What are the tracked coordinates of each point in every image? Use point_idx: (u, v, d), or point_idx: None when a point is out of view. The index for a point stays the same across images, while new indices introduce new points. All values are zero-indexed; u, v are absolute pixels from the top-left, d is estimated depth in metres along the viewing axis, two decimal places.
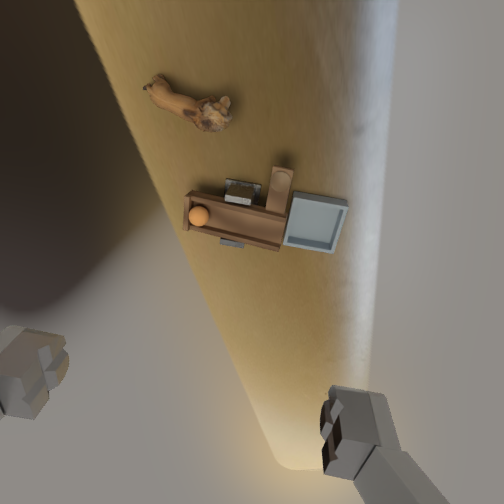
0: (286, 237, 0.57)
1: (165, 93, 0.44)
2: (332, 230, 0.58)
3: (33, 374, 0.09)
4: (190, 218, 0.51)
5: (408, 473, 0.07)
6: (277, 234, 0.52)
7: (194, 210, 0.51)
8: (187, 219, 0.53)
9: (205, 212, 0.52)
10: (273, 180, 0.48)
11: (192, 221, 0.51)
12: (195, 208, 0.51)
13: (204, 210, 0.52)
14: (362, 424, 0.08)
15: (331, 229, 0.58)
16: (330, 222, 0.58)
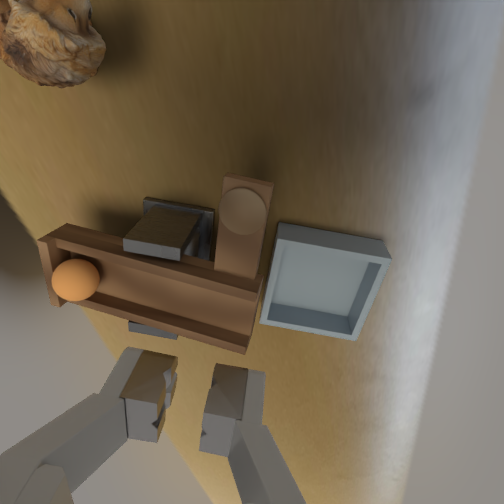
0: (265, 311, 0.29)
1: None
2: (354, 295, 0.31)
3: (162, 398, 0.09)
4: (53, 287, 0.24)
5: (259, 444, 0.07)
6: (242, 318, 0.25)
7: (60, 270, 0.23)
8: None
9: (86, 274, 0.24)
10: (225, 209, 0.20)
11: (57, 293, 0.24)
12: (63, 265, 0.24)
13: (84, 269, 0.24)
14: (229, 399, 0.08)
15: (352, 293, 0.30)
16: (350, 282, 0.30)
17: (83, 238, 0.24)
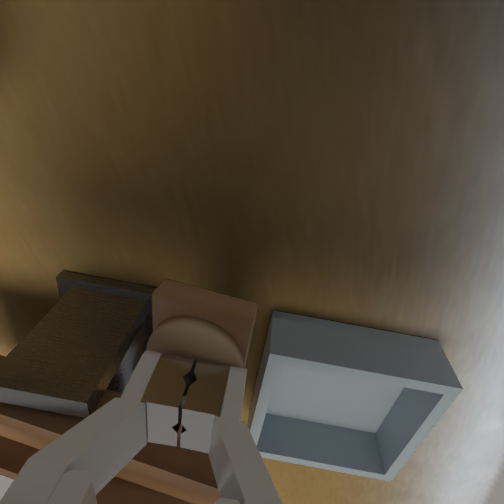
0: None
1: None
2: (387, 409, 0.20)
3: (182, 402, 0.09)
4: None
5: (237, 440, 0.07)
6: None
7: None
8: None
9: None
10: None
11: None
12: None
13: None
14: (209, 396, 0.08)
15: (384, 407, 0.20)
16: (383, 393, 0.20)
17: None
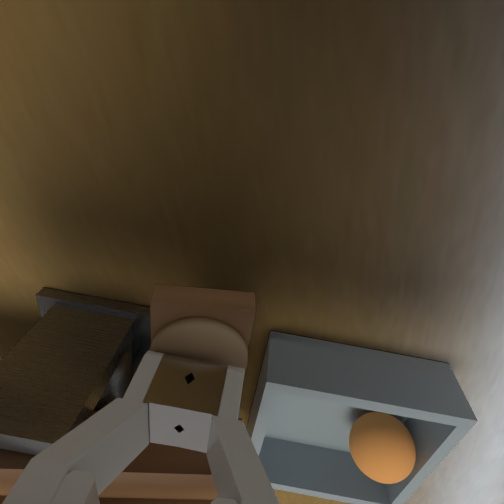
0: None
1: None
2: None
3: None
4: (397, 480, 0.16)
5: (234, 439, 0.07)
6: (213, 484, 0.15)
7: (403, 452, 0.15)
8: None
9: (403, 424, 0.17)
10: None
11: (400, 480, 0.16)
12: (396, 444, 0.16)
13: (400, 422, 0.17)
14: (207, 395, 0.08)
15: None
16: None
17: None
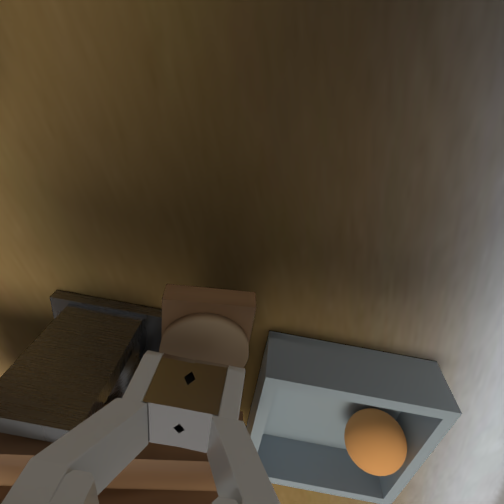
0: None
1: None
2: None
3: None
4: (389, 472, 0.17)
5: (235, 439, 0.07)
6: None
7: (395, 445, 0.16)
8: None
9: None
10: (173, 352, 0.11)
11: (393, 472, 0.17)
12: (388, 437, 0.17)
13: (392, 418, 0.18)
14: (207, 395, 0.08)
15: None
16: None
17: None
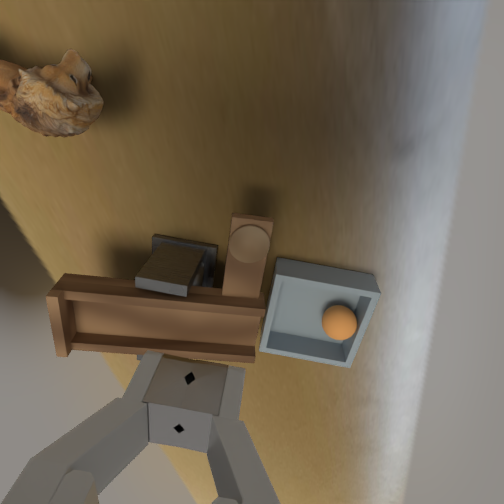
0: (264, 339, 0.31)
1: None
2: None
3: None
4: (346, 334, 0.29)
5: (234, 439, 0.07)
6: (248, 332, 0.29)
7: (349, 319, 0.29)
8: (62, 336, 0.25)
9: None
10: (235, 244, 0.24)
11: (349, 336, 0.30)
12: (345, 315, 0.29)
13: (348, 308, 0.31)
14: (207, 395, 0.08)
15: None
16: None
17: (90, 286, 0.25)
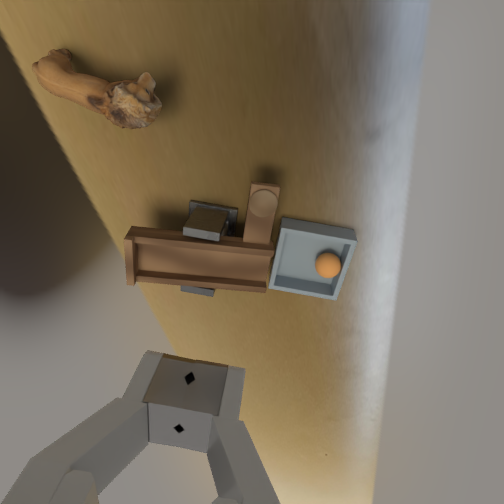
0: (272, 279, 0.42)
1: (56, 72, 0.29)
2: None
3: None
4: (332, 273, 0.40)
5: (234, 439, 0.07)
6: (261, 270, 0.39)
7: (334, 261, 0.40)
8: (132, 270, 0.36)
9: None
10: (253, 203, 0.34)
11: (334, 274, 0.41)
12: (332, 258, 0.40)
13: (335, 255, 0.41)
14: (207, 395, 0.08)
15: None
16: None
17: (151, 234, 0.36)
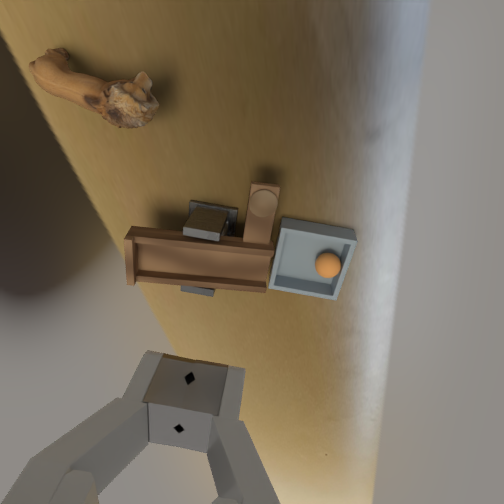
0: (272, 279, 0.42)
1: (52, 71, 0.29)
2: None
3: None
4: (332, 272, 0.40)
5: (234, 439, 0.07)
6: (261, 270, 0.39)
7: (334, 261, 0.40)
8: (132, 270, 0.36)
9: None
10: (253, 203, 0.34)
11: (334, 274, 0.41)
12: (332, 258, 0.40)
13: (335, 255, 0.41)
14: (207, 395, 0.08)
15: None
16: None
17: (151, 234, 0.36)
